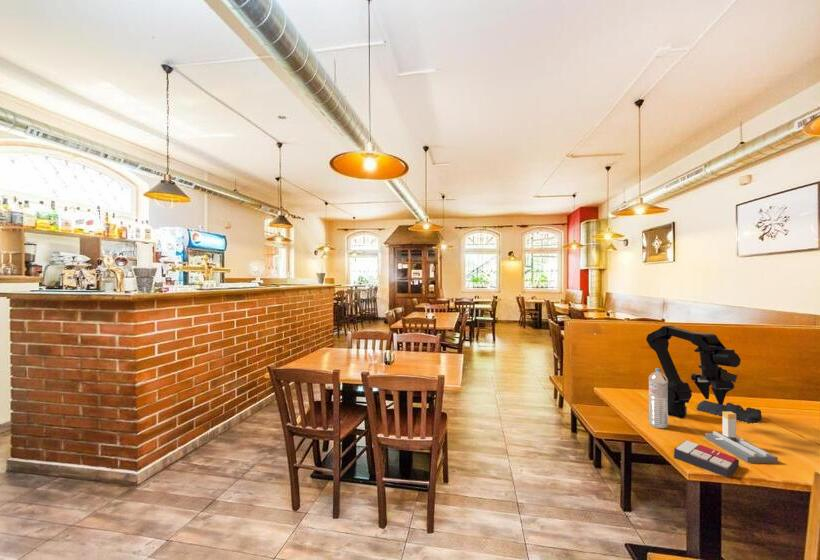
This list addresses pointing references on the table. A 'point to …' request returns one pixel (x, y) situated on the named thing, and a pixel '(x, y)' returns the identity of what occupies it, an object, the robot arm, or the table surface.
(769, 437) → the table surface
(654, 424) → the water bottle
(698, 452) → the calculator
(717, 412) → the dark slate chunk
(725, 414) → the fader tab
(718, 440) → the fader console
